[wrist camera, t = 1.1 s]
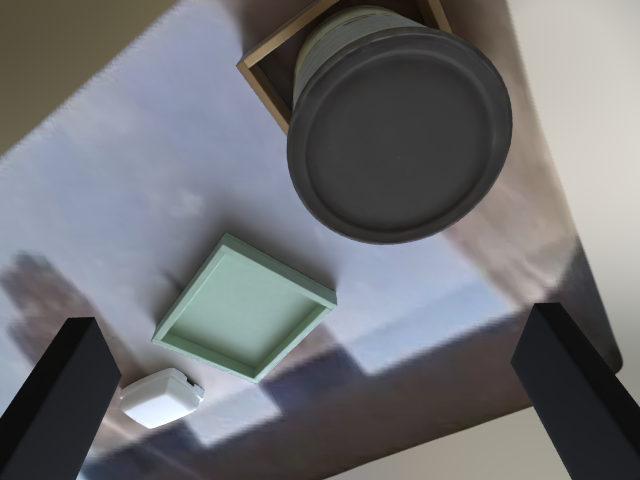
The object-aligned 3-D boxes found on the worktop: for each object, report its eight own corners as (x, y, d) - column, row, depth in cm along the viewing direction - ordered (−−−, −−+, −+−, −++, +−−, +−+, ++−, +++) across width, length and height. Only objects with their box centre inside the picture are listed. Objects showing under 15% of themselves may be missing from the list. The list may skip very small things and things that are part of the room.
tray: (226, 231, 37) (222, 244, 35) (336, 292, 42) (337, 305, 40) (156, 327, 44) (150, 341, 42) (257, 370, 48) (255, 384, 47)
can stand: (398, -65, 25) (411, -69, 22) (470, 105, 31) (487, 119, 28) (242, 56, 28) (235, 65, 26) (334, 186, 35) (337, 206, 32)
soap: (172, 364, 47) (165, 385, 45) (209, 393, 51) (204, 414, 48) (117, 389, 50) (108, 410, 47) (155, 415, 53) (148, 436, 51)
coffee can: (458, 72, 30) (559, 140, 18) (363, 170, 34) (394, 276, 22) (359, -36, 26) (406, -40, 14) (265, 90, 30) (241, 168, 18)
